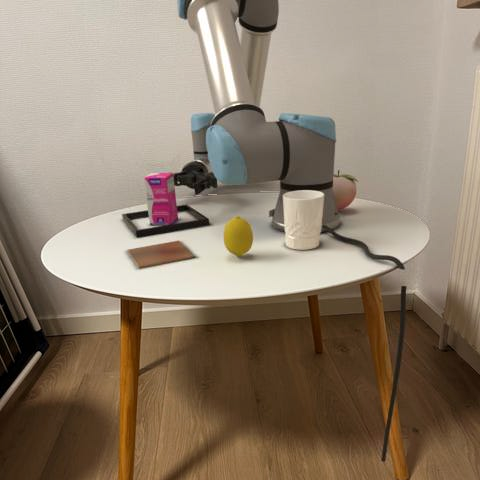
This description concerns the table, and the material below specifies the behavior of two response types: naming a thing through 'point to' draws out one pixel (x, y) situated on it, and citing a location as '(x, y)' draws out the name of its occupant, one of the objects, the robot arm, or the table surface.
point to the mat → (160, 254)
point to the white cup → (303, 218)
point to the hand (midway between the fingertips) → (170, 189)
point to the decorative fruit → (344, 190)
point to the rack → (166, 228)
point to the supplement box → (161, 198)
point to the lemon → (238, 236)
